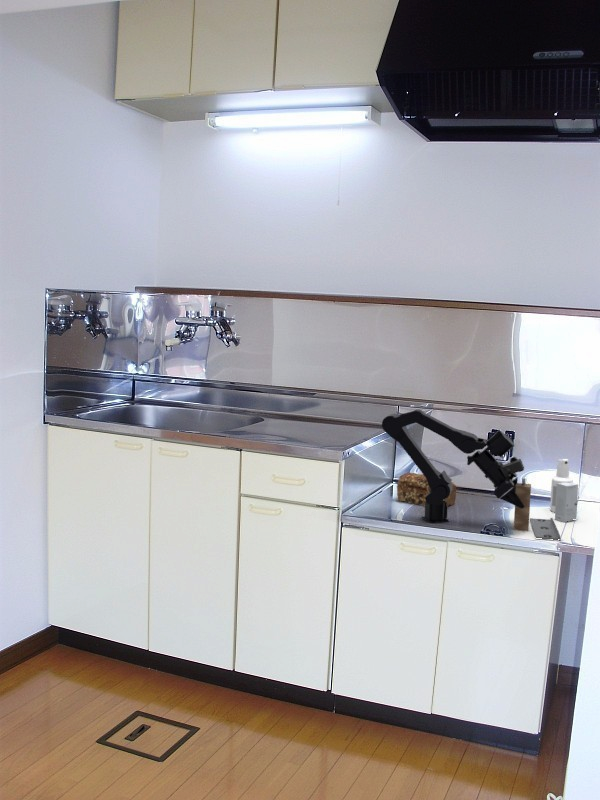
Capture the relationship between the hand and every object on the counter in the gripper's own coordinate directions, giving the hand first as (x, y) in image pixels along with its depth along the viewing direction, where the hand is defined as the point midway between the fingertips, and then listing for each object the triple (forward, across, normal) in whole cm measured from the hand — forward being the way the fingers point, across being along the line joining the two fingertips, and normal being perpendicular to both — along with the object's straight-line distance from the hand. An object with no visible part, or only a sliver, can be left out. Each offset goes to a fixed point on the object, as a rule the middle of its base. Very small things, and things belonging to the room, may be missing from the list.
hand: (524, 504), depth 259 cm
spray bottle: (+14, +29, -2) cm, 32 cm away
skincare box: (+15, +17, -3) cm, 23 cm away
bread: (-18, +23, +30) cm, 42 cm away
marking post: (+5, 0, +6) cm, 8 cm away
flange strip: (+10, +1, +1) cm, 10 cm away
